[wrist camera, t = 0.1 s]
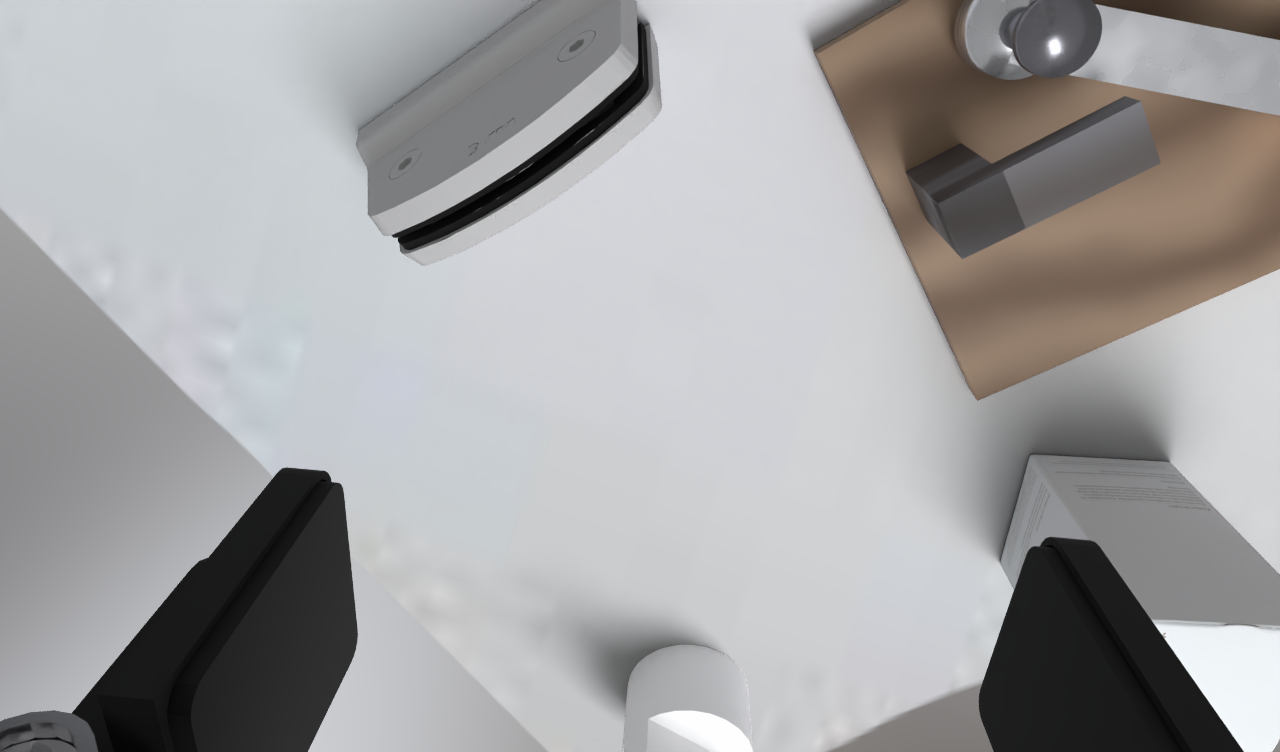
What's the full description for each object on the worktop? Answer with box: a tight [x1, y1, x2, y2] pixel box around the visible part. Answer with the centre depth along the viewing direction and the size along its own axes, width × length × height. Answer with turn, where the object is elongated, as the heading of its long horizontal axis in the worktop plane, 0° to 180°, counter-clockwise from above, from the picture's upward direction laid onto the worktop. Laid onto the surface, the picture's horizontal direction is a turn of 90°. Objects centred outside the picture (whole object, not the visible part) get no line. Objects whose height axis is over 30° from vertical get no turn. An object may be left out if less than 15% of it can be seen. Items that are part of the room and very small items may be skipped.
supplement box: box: [1001, 455, 1280, 752], centre depth 48 cm, size 9×9×15 cm
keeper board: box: [814, 0, 1280, 401], centre depth 40 cm, size 22×22×8 cm
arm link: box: [954, 0, 1280, 117], centre depth 37 cm, size 19×4×8 cm, turn 80°
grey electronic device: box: [356, 0, 662, 266], centre depth 42 cm, size 17×5×10 cm, turn 122°
